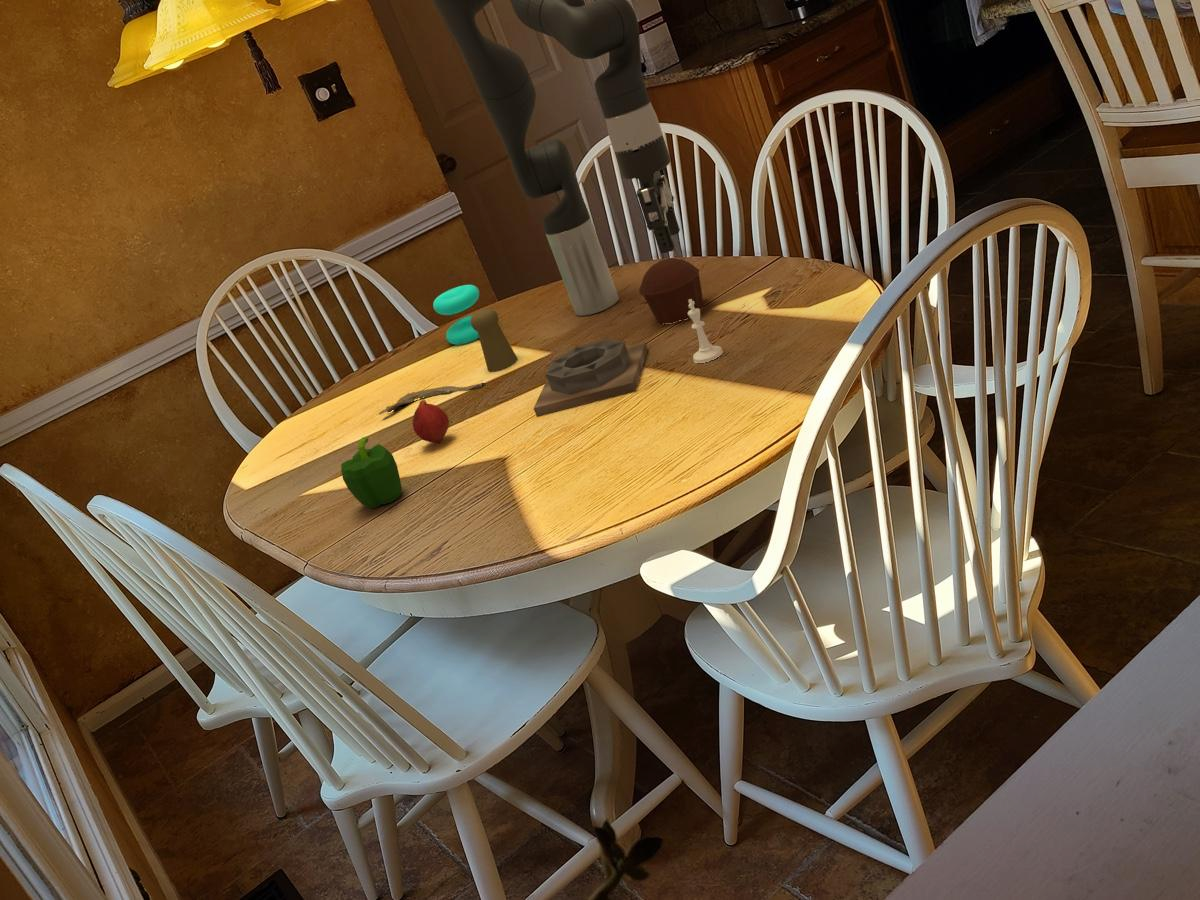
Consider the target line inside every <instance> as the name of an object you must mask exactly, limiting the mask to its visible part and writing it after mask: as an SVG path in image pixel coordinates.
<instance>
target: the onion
mask: <svg viewBox="0 0 1200 900" xmlns="http://www.w3.org/2000/svg"><path fill="white" fill-rule="evenodd" d="M449 421H450V419H449V417H448V415H447V413H446V411H445V410H443V409H442V408H441V407H439V406H437V405H436V404H432V403H427V401H426V399H425V398H423V399H420V401H419V403H418V406H417V408H416V409H415V412H414V414H413V418H412V427H413V431H414V433H415V434H416V435H417V437H419V438H420V439H421V440H422V441H425V442H429V443H434V444H440V443H441V442H443V441H444V437H445V436H446V434H447V433H448V430H449V425H450V422H449Z"/></svg>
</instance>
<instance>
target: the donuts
mask: <svg viewBox="0 0 1200 900" xmlns="http://www.w3.org/2000/svg"><path fill="white" fill-rule="evenodd" d="M479 298H480V290H479V288H478V287H477V286H476V285H474V284H464V285H459V286H457V287H453V288H450V289H448V290H446V291H445V292H444V291H443V293H441V294H440V295H438V296H437V297H436V298H435V299H434V301H433V302H432V303H433V305H432V306H433V310H434V311H435V312H436V313H437V314H439V315H443V316H451V315H455V314H458V313H461V312H463V311H465V310H467V309H469V308H471V307H472V306H473V305H475V304H476V302H478V299H479ZM472 316H473V314H470V315H468V316H465V317H463V318H460V319H457V321H455V322H454V323H452V324H451V325H450V326H449V327H448V329H447V331H446V333H445V336H446V337H445V338H446V340H447V342H448V343H449V344H451V345H459V346H460V345H464V344H469V343H472V342H473V341H476V340H478V338H479V335H478V332H477V331H475V330H474V329H473V327H472V325H471V317H472Z"/></svg>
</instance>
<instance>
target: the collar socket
mask: <svg viewBox="0 0 1200 900" xmlns="http://www.w3.org/2000/svg"><path fill="white" fill-rule="evenodd" d="M647 350H648V351H649V348H648V345H647V343H646V341H642V342H637V343H635V344H630V345H626V343H625V341H621V340H616V339H609V338H605V339H601V340H600V339H599V340H597V341H593V342H589V343H586V344H581V345H579V346H576V347H574V348H572V349H570V350H568V351H566V352H565V353H563V354H561V355H560V356H558V357H556V358H554V359H553V360H551V362H550V363H549V365H548V368H547V370H546V372H545V377H546V381H545V384H544V385H543V387H542V390H541V391H540V393H539V396H538V398H537V400H536V402H535V404H534V405H533V411H534V413H535V415H536V417H541V416H544V415H547V414H551V413H555V411H556V412H558V411H559V410H560V411H563V410H566V409H571V408H575V407H579V406H582V405H587V404H591V403H594V401H595V402H598V400H599V401H602V400H606V399H609V398H614V397H618V396H621V395H626V394H629V392H630V393H633V391H634V392H636V391H637V388H638V385H637V384H639V381H640V377H641V374H642V371H641V370H643V368H644V364H645V361H644V360H646V358H645V357H647V354H648V351H647ZM643 363H644V364H643ZM642 367H643V368H642ZM590 402H591V403H590ZM586 403H587V404H586Z"/></svg>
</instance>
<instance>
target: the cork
mask: <svg viewBox="0 0 1200 900" xmlns="http://www.w3.org/2000/svg"><path fill="white" fill-rule="evenodd" d="M472 315H473V316H472V317H471V325H472V327H473V329H474V330H475V331H477V332H478V335H479V342H480V346H481V347H480V348H481V349H482V353H483V357H484V360H485V365H486V368H487V371H488V372H489V373H495V372H499V371H504V370H505V369H508V368H510V367H512V366H514V365H515V364H516V363H517V361H518V360H519V358H518V356H517V355H516V352H514V349H513V347H512V346H511V345H510V343H509V341H508V338H506V336H505V334H504V331H503V330H502V328H501V327H500V324H499V315H498V312H496V310H495V309H493V308H483V309H481V310H479V311H477V312H475V313H473V314H472Z"/></svg>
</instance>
